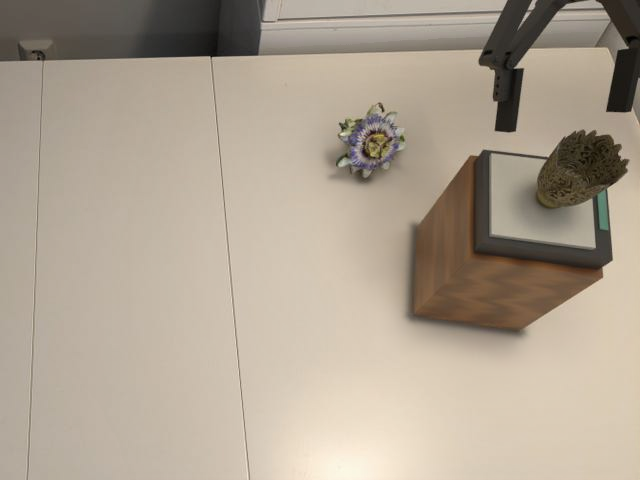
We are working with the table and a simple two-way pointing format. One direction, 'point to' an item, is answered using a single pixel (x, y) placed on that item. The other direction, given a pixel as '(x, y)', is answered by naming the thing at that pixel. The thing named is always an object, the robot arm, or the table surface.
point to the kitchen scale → (534, 216)
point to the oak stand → (482, 270)
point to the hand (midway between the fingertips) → (561, 122)
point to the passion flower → (371, 141)
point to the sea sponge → (579, 170)
